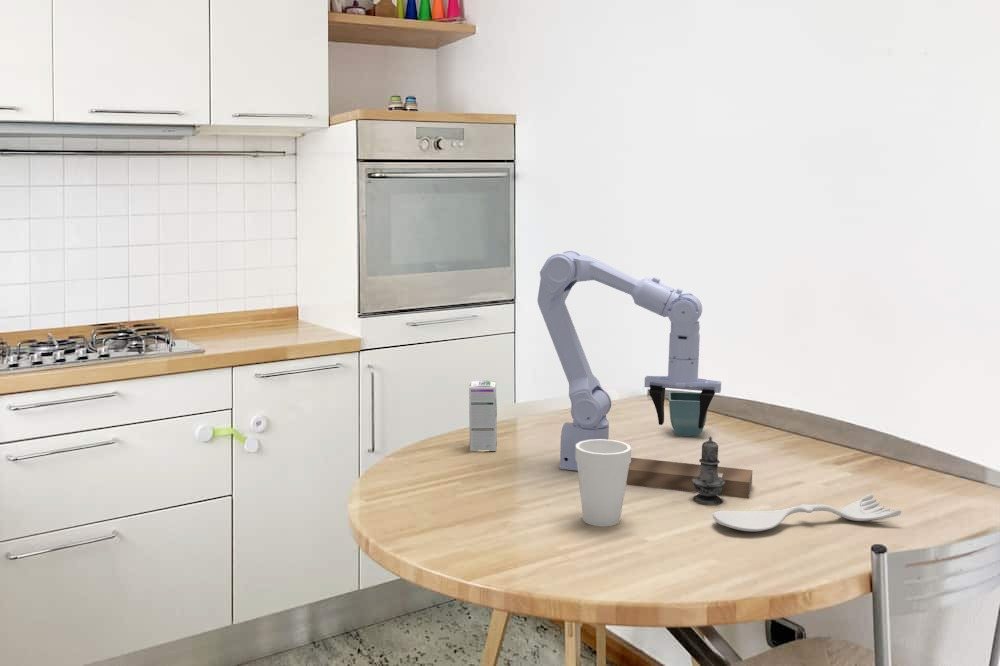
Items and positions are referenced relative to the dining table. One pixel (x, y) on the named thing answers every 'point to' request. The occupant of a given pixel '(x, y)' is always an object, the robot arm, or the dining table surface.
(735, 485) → the walnut fence board
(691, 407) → the flower pot
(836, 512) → the spoon
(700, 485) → the salt shaker
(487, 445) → the syrup box
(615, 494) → the foam cup
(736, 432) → the dining table surface
